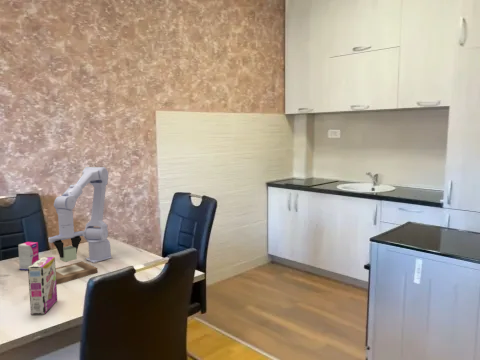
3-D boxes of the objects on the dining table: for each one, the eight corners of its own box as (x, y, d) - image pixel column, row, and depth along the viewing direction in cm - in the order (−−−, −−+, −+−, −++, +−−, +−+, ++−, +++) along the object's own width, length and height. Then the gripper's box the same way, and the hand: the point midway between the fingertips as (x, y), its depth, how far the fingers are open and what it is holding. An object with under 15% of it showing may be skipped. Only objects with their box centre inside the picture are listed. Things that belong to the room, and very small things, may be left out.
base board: (82, 265, 178) (81, 260, 178) (97, 272, 169) (97, 267, 169) (41, 276, 165) (40, 271, 165) (55, 284, 156) (54, 279, 155)
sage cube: (71, 256, 170) (70, 245, 169) (76, 259, 166) (76, 247, 166) (59, 259, 166) (59, 248, 165) (65, 262, 163) (64, 250, 162)
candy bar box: (46, 314, 130) (42, 266, 128) (30, 315, 130) (26, 267, 128) (58, 300, 141) (55, 256, 139) (44, 300, 141) (40, 256, 139)
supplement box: (30, 270, 172) (28, 245, 171) (19, 270, 173) (17, 245, 172) (40, 266, 178) (38, 241, 176) (28, 265, 179) (26, 241, 178)
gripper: (78, 219, 172) (80, 249, 174) (44, 226, 162) (46, 257, 163) (86, 222, 168) (88, 252, 169) (51, 228, 157) (53, 261, 158)
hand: (68, 255), depth 166 cm, fingers closed on sage cube, 5 cm apart
